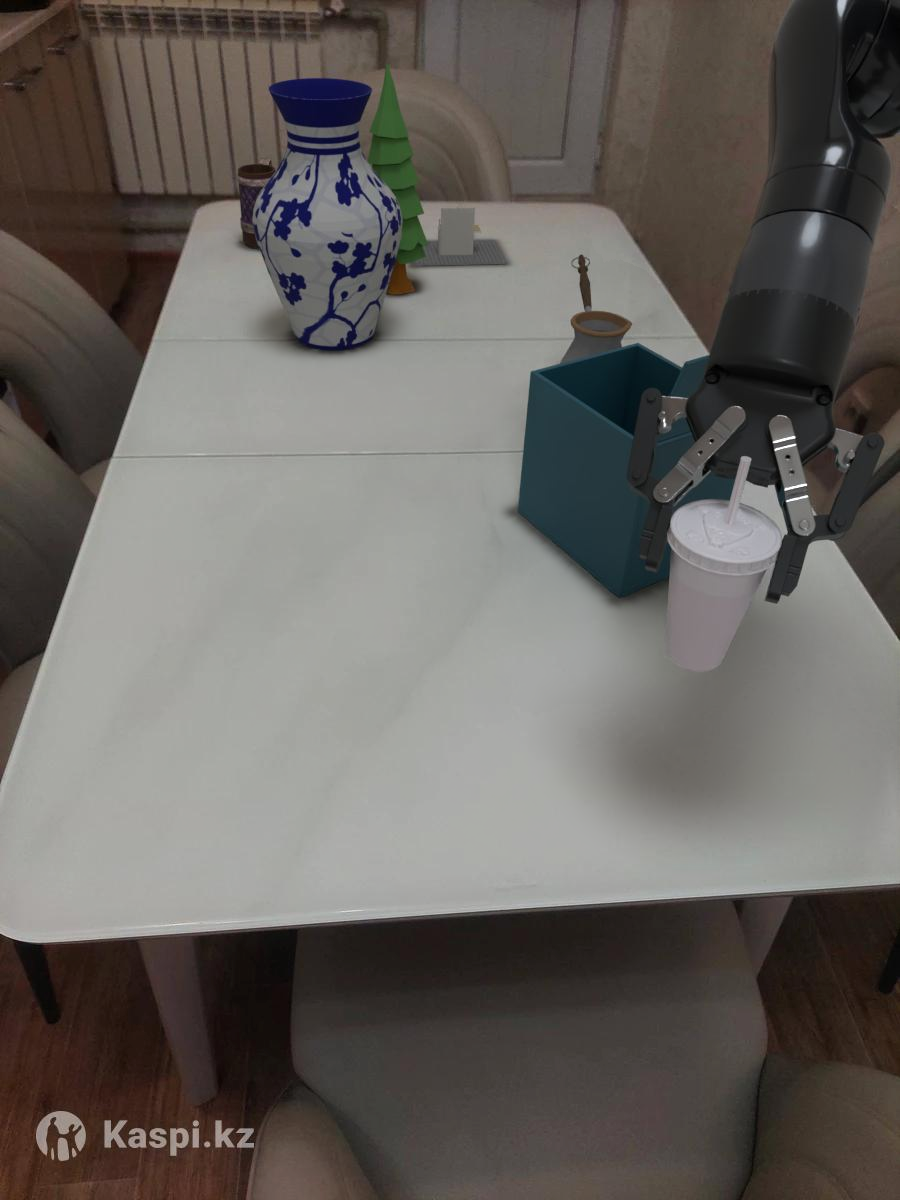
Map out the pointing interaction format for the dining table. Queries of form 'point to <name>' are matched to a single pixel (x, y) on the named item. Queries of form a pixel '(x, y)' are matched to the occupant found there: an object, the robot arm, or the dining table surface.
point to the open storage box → (599, 462)
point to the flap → (686, 391)
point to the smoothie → (715, 573)
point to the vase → (327, 217)
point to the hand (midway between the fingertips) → (710, 584)
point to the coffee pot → (593, 324)
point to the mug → (252, 195)
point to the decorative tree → (397, 180)
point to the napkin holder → (459, 242)
